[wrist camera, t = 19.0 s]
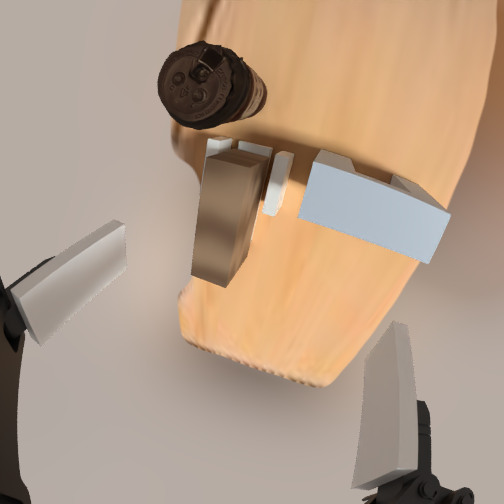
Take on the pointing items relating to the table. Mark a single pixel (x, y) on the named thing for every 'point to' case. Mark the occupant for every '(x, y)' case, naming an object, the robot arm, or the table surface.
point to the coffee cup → (209, 86)
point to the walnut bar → (227, 213)
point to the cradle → (277, 175)
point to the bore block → (373, 208)
